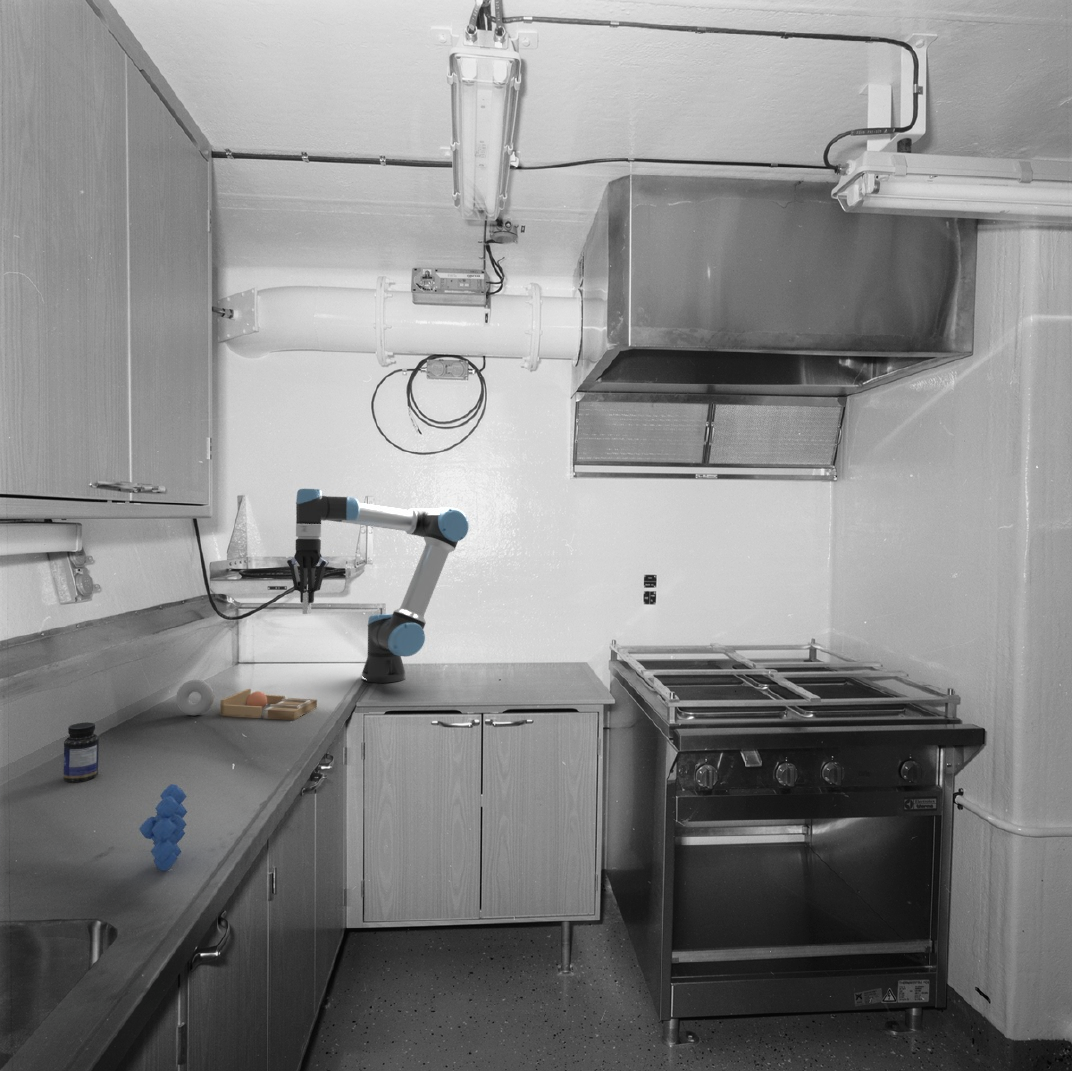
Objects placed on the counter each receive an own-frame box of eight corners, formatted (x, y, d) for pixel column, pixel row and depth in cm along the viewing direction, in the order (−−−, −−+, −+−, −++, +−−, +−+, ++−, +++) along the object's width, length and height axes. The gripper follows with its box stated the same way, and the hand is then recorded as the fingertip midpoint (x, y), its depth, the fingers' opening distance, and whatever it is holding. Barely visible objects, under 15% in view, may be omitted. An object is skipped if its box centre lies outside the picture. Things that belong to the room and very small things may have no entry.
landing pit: (247, 703, 209) (247, 689, 209) (288, 706, 208) (288, 691, 208) (220, 715, 195) (220, 700, 195) (263, 718, 194) (263, 702, 194)
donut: (215, 713, 198) (216, 678, 198) (211, 716, 194) (212, 680, 194) (178, 713, 196) (178, 678, 196) (173, 717, 193) (174, 681, 193)
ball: (270, 691, 203) (271, 709, 200) (254, 695, 204) (254, 713, 201) (259, 688, 198) (259, 707, 196) (242, 692, 199) (242, 711, 197)
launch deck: (288, 706, 208) (288, 695, 208) (316, 707, 206) (316, 697, 206) (263, 718, 194) (263, 707, 194) (294, 720, 192) (294, 709, 192)
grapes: (148, 849, 114) (149, 776, 114) (193, 845, 116) (194, 773, 116) (127, 884, 103) (129, 804, 103) (178, 879, 105) (179, 800, 105)
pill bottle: (67, 774, 148) (68, 722, 148) (101, 771, 150) (102, 720, 150) (59, 784, 142) (60, 730, 142) (94, 781, 144) (95, 728, 144)
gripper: (282, 537, 215) (281, 614, 215) (322, 538, 214) (321, 615, 214) (294, 537, 223) (292, 611, 223) (333, 538, 221) (331, 612, 221)
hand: (306, 613), depth 218 cm, fingers closed
